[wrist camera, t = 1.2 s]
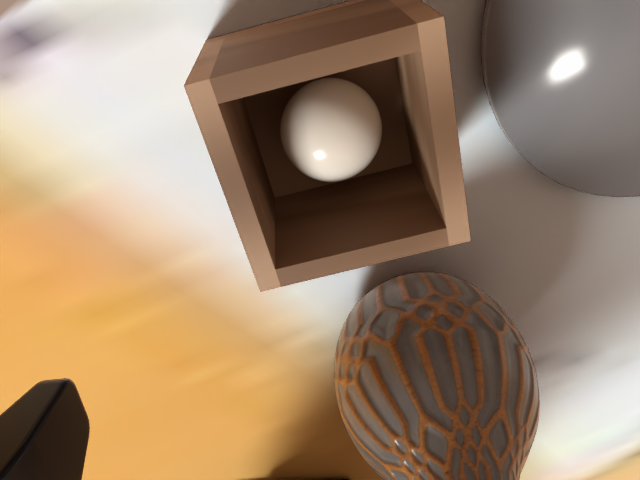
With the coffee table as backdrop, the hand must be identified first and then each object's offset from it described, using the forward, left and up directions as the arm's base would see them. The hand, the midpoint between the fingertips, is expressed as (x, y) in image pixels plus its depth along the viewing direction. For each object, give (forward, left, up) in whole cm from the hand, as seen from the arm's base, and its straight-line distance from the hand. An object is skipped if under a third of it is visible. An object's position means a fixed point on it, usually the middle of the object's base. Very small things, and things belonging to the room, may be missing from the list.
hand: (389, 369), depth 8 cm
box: (0, 0, -12) cm, 12 cm away
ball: (0, 0, -11) cm, 11 cm away
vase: (-9, -3, -12) cm, 16 cm away
